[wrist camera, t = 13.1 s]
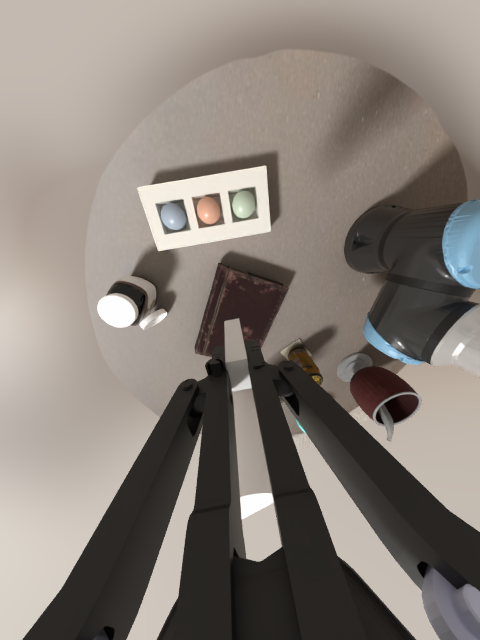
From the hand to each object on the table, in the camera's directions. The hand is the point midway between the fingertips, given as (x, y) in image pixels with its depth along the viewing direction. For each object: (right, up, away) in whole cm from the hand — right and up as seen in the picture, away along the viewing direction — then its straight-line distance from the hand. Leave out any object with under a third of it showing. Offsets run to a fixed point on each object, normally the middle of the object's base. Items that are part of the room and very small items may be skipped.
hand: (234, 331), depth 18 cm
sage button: (+1, +25, +19) cm, 31 cm away
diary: (0, +2, +32) cm, 32 cm away
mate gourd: (+40, -16, +44) cm, 62 cm away
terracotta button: (-6, +24, +19) cm, 31 cm away
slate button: (-13, +22, +19) cm, 32 cm away
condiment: (+19, -9, +39) cm, 44 cm away
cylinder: (+1, -30, +47) cm, 56 cm away
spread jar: (-23, +6, +28) cm, 37 cm away
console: (-6, +24, +21) cm, 33 cm away
